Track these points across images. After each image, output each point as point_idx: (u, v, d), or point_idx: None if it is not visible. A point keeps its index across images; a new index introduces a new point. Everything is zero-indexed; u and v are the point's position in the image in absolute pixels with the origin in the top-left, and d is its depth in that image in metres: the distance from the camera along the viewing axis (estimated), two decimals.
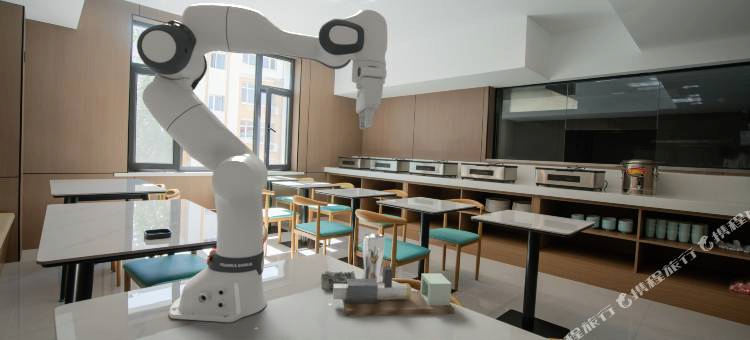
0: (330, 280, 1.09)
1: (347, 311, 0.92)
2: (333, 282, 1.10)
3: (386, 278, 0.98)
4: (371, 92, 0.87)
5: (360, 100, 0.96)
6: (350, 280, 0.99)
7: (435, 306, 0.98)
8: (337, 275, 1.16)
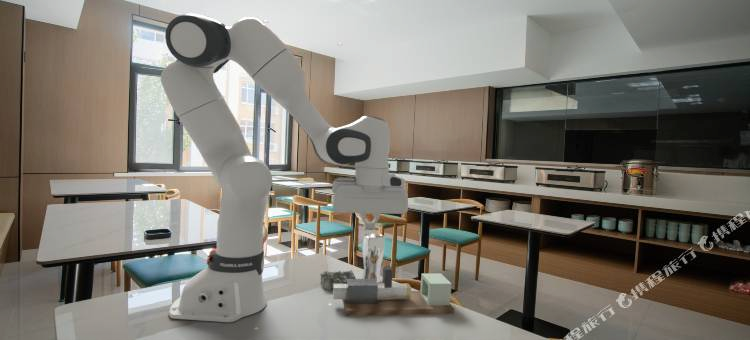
0: (331, 280, 1.10)
1: (347, 311, 0.92)
2: (333, 282, 1.10)
3: (386, 278, 0.98)
4: None
5: (371, 203, 0.96)
6: (350, 280, 0.99)
7: (435, 306, 0.98)
8: (335, 275, 1.16)
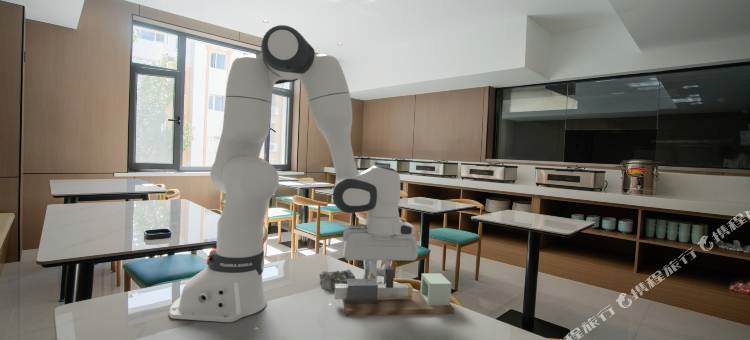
0: (331, 280, 1.10)
1: (347, 311, 0.92)
2: (334, 281, 1.10)
3: (388, 278, 0.98)
4: None
5: (382, 251, 0.97)
6: (350, 280, 0.99)
7: (435, 306, 0.98)
8: (334, 274, 1.16)
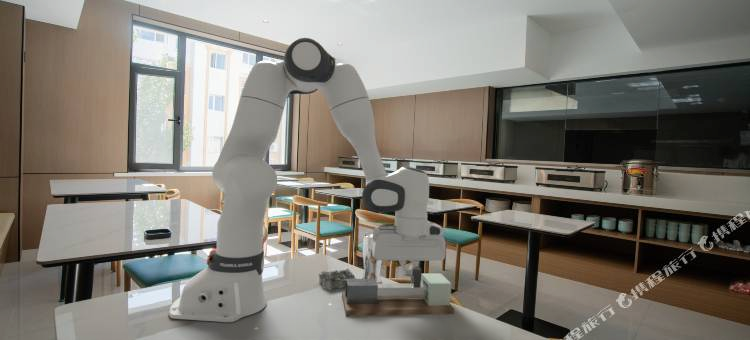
0: (332, 280, 1.10)
1: (347, 311, 0.92)
2: (334, 281, 1.11)
3: (415, 278, 0.99)
4: None
5: (410, 251, 0.98)
6: (350, 280, 0.99)
7: (435, 306, 0.98)
8: (333, 274, 1.16)
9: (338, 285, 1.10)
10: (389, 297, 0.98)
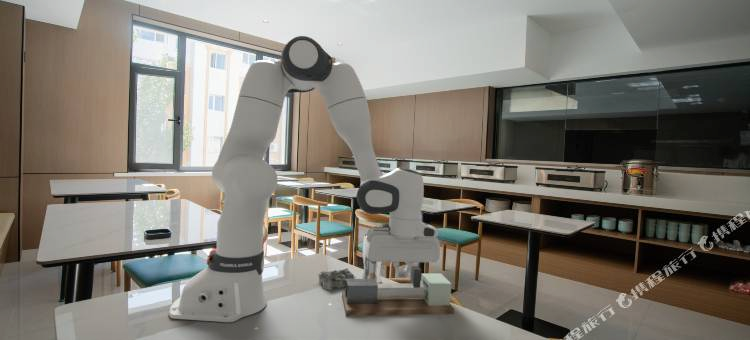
0: (332, 279, 1.10)
1: (347, 311, 0.92)
2: (334, 281, 1.11)
3: (415, 278, 0.99)
4: None
5: (404, 253, 0.98)
6: (350, 280, 0.99)
7: (435, 306, 0.98)
8: (332, 274, 1.16)
9: (338, 285, 1.11)
10: (389, 297, 0.98)
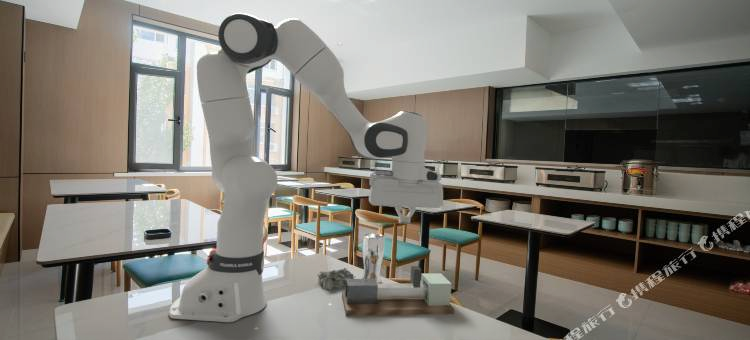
0: (332, 279, 1.10)
1: (347, 311, 0.92)
2: (334, 281, 1.11)
3: (415, 278, 0.99)
4: None
5: (407, 197, 0.97)
6: (350, 280, 0.99)
7: (435, 306, 0.98)
8: (331, 274, 1.16)
9: (338, 284, 1.11)
10: (389, 297, 0.98)
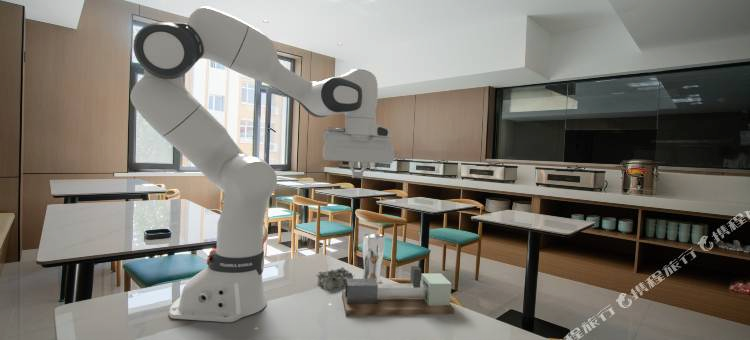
0: (333, 279, 1.10)
1: (347, 311, 0.92)
2: (334, 280, 1.11)
3: (415, 278, 0.99)
4: None
5: (359, 152, 1.01)
6: (350, 280, 0.99)
7: (435, 306, 0.98)
8: (329, 274, 1.17)
9: (339, 284, 1.11)
10: (389, 297, 0.98)
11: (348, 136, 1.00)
